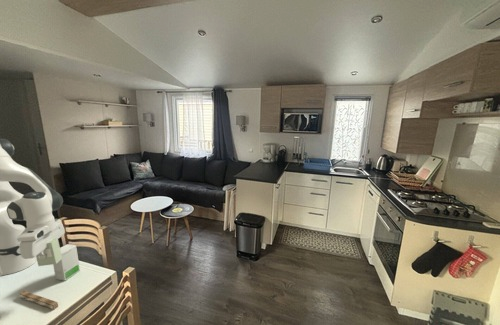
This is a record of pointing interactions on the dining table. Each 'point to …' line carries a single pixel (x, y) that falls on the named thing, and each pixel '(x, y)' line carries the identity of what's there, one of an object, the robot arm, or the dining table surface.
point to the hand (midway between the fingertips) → (48, 254)
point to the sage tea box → (51, 253)
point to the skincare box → (67, 263)
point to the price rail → (39, 300)
